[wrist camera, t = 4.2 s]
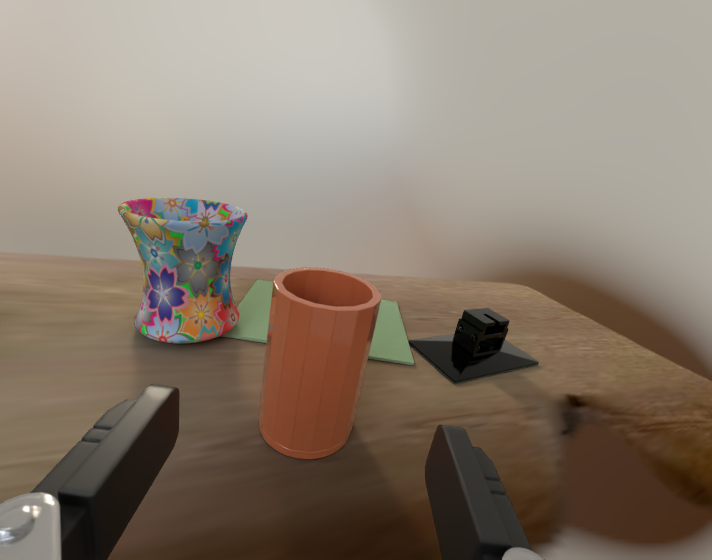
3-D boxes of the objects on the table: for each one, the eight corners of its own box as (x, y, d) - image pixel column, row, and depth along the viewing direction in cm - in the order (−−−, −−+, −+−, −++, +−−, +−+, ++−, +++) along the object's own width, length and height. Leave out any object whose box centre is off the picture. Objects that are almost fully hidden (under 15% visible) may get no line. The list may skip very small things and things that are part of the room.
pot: (247, 452, 21) (262, 298, 18) (269, 386, 27) (284, 261, 24) (350, 466, 22) (385, 318, 18) (351, 398, 27) (377, 277, 24)
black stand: (453, 385, 32) (467, 340, 30) (405, 342, 38) (415, 302, 36) (539, 364, 38) (554, 326, 36) (486, 330, 44) (497, 296, 42)
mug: (238, 355, 29) (241, 227, 26) (109, 353, 27) (93, 214, 24) (249, 295, 40) (253, 200, 37) (159, 291, 38) (153, 189, 34)
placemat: (217, 336, 32) (218, 333, 32) (256, 281, 45) (257, 279, 45) (413, 365, 33) (414, 363, 33) (396, 304, 46) (396, 302, 46)
